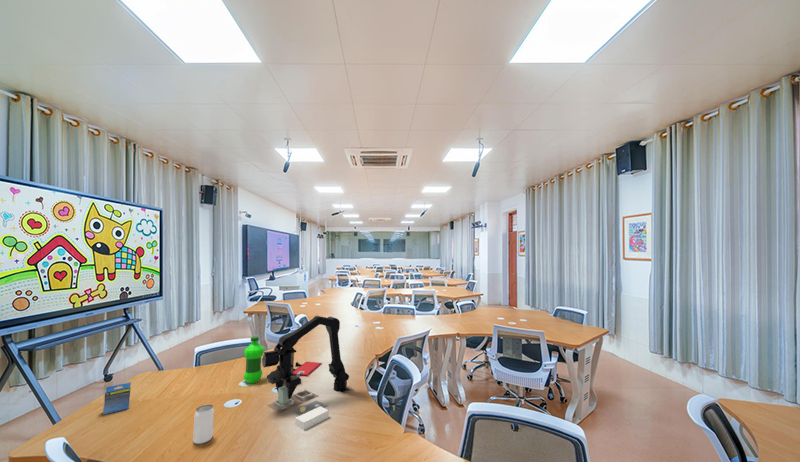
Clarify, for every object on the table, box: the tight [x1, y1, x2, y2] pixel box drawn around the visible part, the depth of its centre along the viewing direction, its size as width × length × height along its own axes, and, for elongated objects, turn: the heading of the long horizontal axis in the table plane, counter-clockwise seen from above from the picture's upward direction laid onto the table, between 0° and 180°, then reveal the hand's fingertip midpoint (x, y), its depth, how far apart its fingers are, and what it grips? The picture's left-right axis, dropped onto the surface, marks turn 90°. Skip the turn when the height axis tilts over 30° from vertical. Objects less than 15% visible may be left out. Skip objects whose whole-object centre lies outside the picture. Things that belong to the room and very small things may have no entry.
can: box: [192, 404, 215, 445], centre depth 122 cm, size 6×6×12 cm
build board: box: [267, 389, 319, 414], centre depth 152 cm, size 22×11×2 cm, turn 142°
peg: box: [277, 385, 290, 405], centre depth 148 cm, size 4×4×8 cm
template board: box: [291, 400, 328, 417], centre depth 144 cm, size 14×9×3 cm, turn 142°
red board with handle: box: [293, 361, 323, 378], centre depth 194 cm, size 30×3×15 cm
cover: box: [294, 406, 330, 431], centre depth 134 cm, size 13×6×4 cm, turn 142°
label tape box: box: [102, 381, 132, 415], centre depth 144 cm, size 9×4×12 cm, turn 135°
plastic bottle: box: [243, 336, 265, 385], centre depth 178 cm, size 10×10×25 cm
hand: (284, 396), depth 148 cm, fingers open, 8 cm apart
